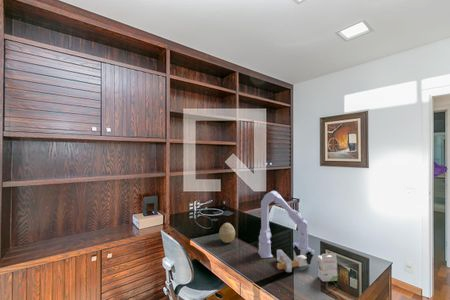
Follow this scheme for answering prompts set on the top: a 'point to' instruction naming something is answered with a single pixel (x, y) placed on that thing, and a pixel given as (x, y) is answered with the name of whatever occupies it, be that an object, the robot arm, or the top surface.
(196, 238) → the top surface
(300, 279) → the top surface
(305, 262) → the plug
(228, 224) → the fossilized egg
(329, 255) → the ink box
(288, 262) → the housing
